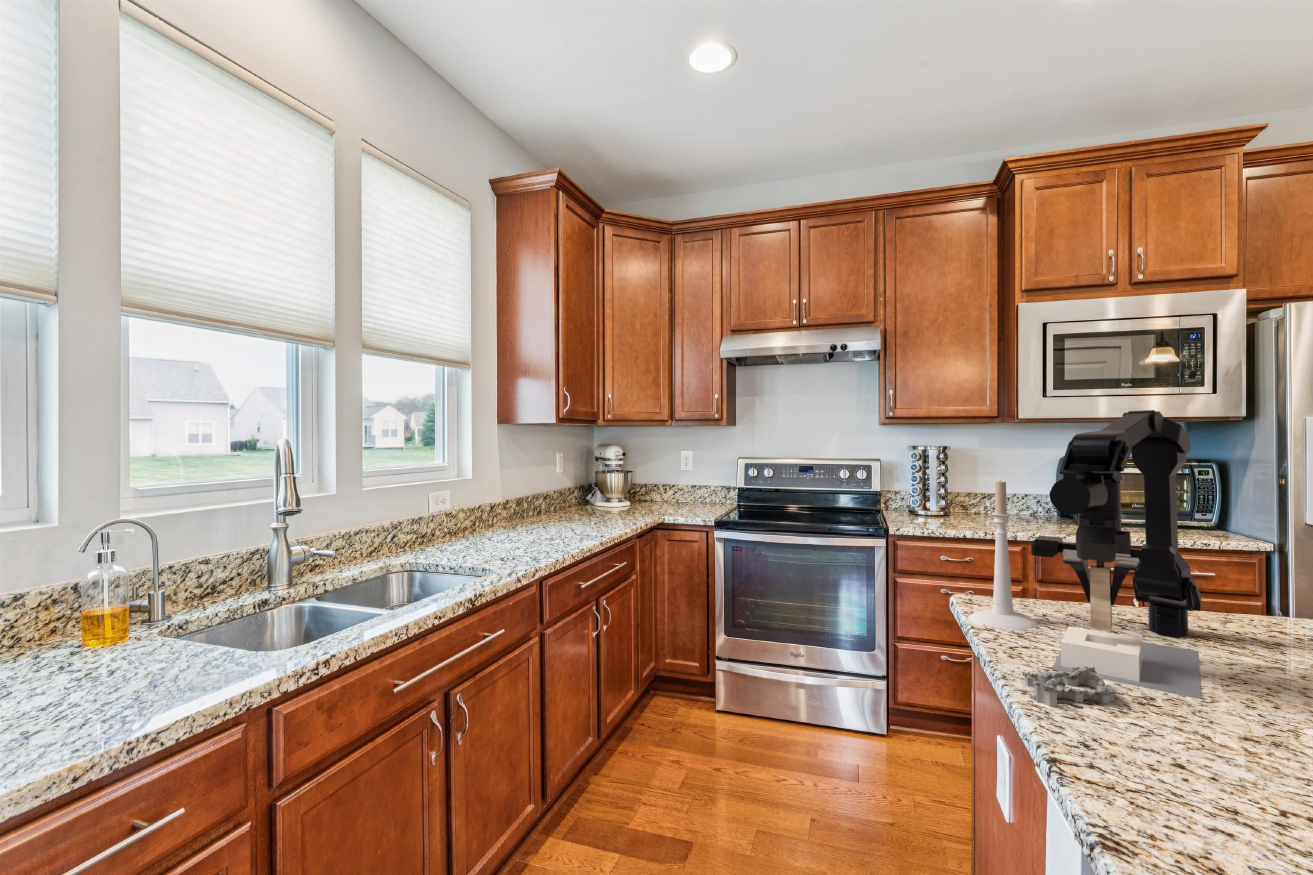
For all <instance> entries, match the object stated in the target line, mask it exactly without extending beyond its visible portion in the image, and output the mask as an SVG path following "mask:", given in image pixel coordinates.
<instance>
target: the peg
mask: <svg viewBox="0 0 1313 875" xmlns="http://www.w3.org/2000/svg"><path fill="white" fill-rule="evenodd" d="M1095 562H1096V564H1091V565H1090V566H1089V573H1090V602H1089V603H1090V604H1089V605H1090V628H1092V629H1096V630H1103V631H1110V632H1111V631H1112V629H1113V613H1112V612H1113V608H1112V606H1113V605H1111V600H1110V594H1111V587H1112V567H1111V566H1110V565H1109V566H1108V565H1105V562H1103V561H1100V560H1095Z"/></svg>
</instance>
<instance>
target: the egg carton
mask: <svg viewBox="0 0 1313 875" xmlns="http://www.w3.org/2000/svg"><path fill="white" fill-rule="evenodd" d="M1020 673H1022V676H1023V677H1024V681H1025V682H1024V685H1026V686H1027V687H1029V688H1030V687H1031V688H1033V689H1034V691H1033V692H1034V697H1033V698H1034V701H1035V702H1036V703H1037V704H1043V705H1046V706H1048V707H1050V708H1057V707H1058V705H1065V706H1070V707H1072V708H1074V709H1077V710H1084V707H1085V706H1083V705H1078V704H1074V703H1070V702H1066V701H1062V700H1058V698H1064V699H1069V700H1072V701H1074V702H1076V703H1084V700H1093V701H1097V702H1099V703H1102V704H1108V705H1109V704H1111V702H1112V701H1116V697H1115V696H1116V695H1119V693H1118V692H1117V691H1116V689H1115V688H1113V689H1112V687H1111V685H1109V684H1106V683H1105V681H1104V679H1103V678H1102V677H1101V675H1099V674H1098V673H1097V672H1096V671H1095V667H1091V668H1088V667H1076V668H1072V669H1071V671H1069V672H1068V671H1063V670H1058V671H1056V672H1055V671H1053V672H1049V671H1040V672H1039V671H1038V672H1035V673H1031V672H1025V671H1021V672H1020ZM1079 685H1086V686H1088V687H1092V688H1096V690H1095V689H1091V690H1087V689H1086V688H1084V689H1082V690H1078V689H1076V688H1073V687H1078V686H1079ZM1068 686H1069V687H1068Z"/></svg>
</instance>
